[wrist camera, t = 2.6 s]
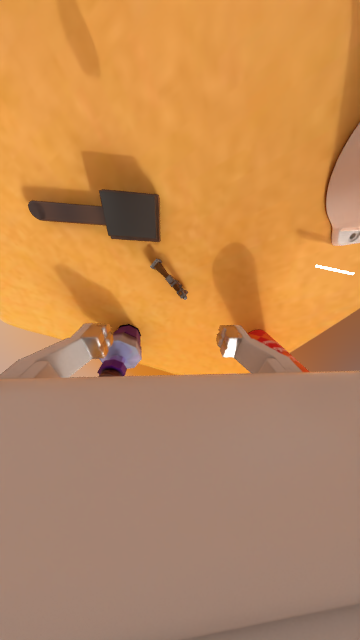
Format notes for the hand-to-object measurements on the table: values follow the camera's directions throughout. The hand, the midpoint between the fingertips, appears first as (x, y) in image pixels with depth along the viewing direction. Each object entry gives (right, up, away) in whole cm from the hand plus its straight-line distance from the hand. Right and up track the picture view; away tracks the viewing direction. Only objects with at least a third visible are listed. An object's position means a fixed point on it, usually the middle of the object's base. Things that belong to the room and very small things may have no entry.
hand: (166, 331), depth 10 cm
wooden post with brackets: (0, +9, +14) cm, 17 cm away
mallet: (-10, +16, +9) cm, 21 cm away
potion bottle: (-11, -2, +21) cm, 24 cm away
